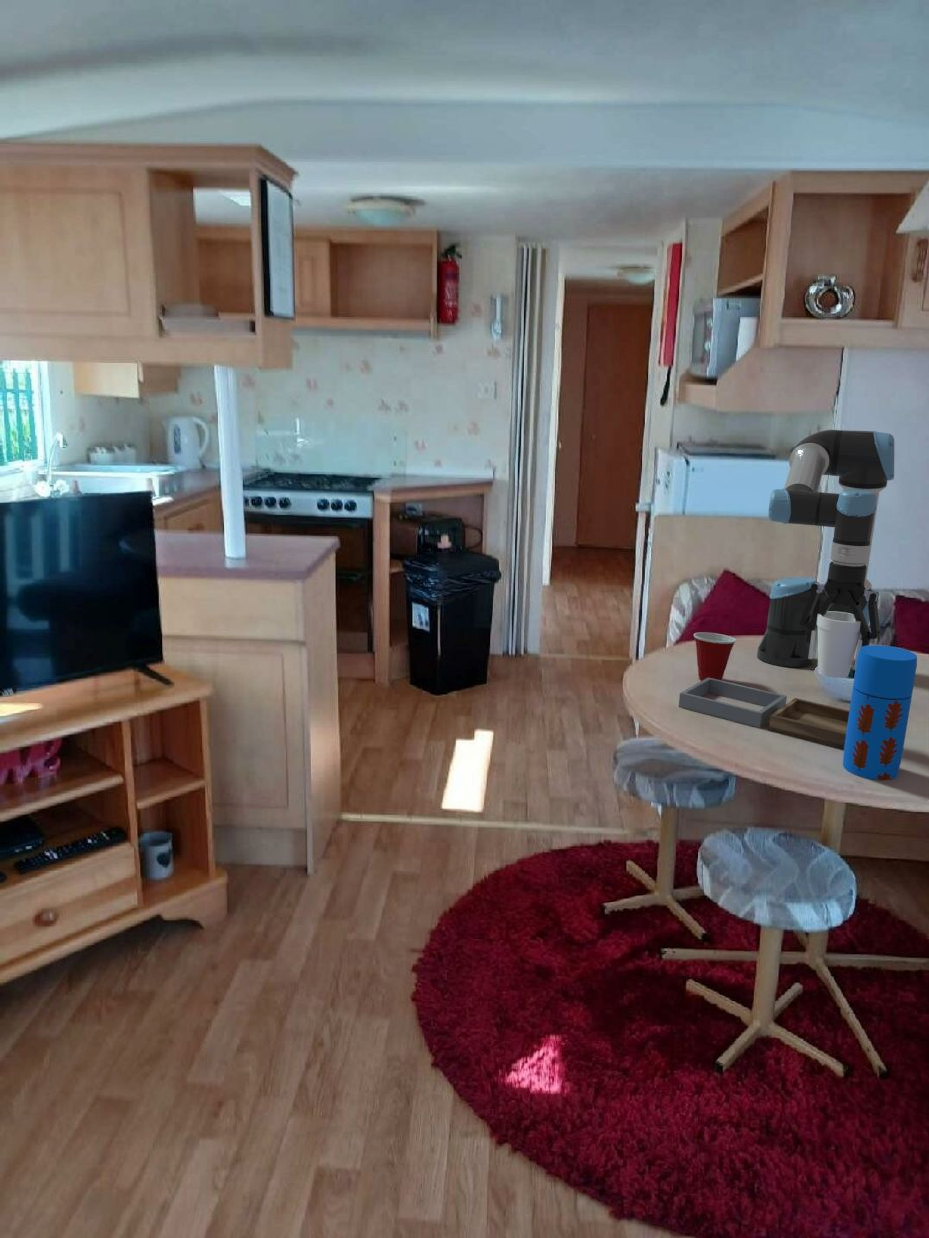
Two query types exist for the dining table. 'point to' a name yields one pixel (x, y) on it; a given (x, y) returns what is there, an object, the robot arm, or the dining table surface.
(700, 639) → the plastic cup
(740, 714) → the bin
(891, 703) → the thermos
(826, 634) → the foam cup
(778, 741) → the dining table surface
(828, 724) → the bin
